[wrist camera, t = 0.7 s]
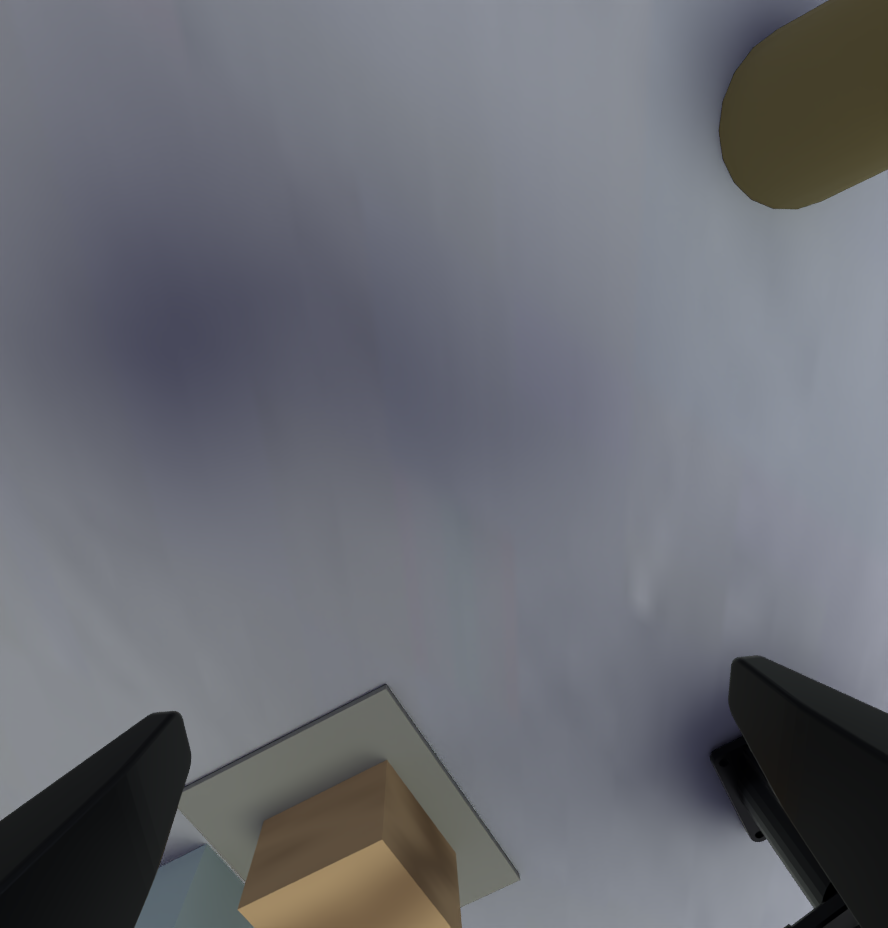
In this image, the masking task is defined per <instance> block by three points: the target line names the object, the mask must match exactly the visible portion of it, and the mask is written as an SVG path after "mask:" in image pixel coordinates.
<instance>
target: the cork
mask: <svg viewBox="0 0 888 928" xmlns="http://www.w3.org/2000/svg"><path fill="white" fill-rule="evenodd" d="M719 135H720V142H721V149H722V156H723V160H724V162H725V164H726V167H727V169H728V171H729V173H730V175H731V177H732V179H733V181H734V183H735V184H736V185H737V186H738V187H739V188H740V189H741V190H742V191H743V192H744V193H745V194H746V195H747V196H748V197H750V198H751V199H752V200H754V201H756V202H759V203H761V204H763V205H766V206H768V207H771V208H773V209H799V208H802V207H806V206H809V205H812V204H815V203H818V202H821V201H823V200H825V199H827V198H829V197H831V196H834V195H836V194H838V193H840V192H842V191H844V190H846V189H848V188H850V187H852V186H854V185H856V184H858V183H860V182H863V181H865V180H867V179H869V178H871V177H873V176H875V175H877V174H879V173H881V172H883V171H885V170H887V169H888V0H829V1H827V2H825V3H823V4H821V5H820V6H818V7H816V8H814V9H813V10H811V11H809V12H807V13H806V14H804V15H802V16H800V17H798V18H797V19H795V20H793V21H791V22H790V23H788V24H786V25H784V26H783V27H781V28H779V29H777V30H776V31H775V32H773V33H772V34H771V35H769V36H768V37H767V38H765V39H764V40H763V41H761V42H760V43H759V44H757V45H756V46H755V47H753V49H752V50H751V51H750V53H749V54H748V55H747V57H746V58H745V59H744V61H743V62H742V63H741V65H740V66H739V67H738V69H737V70H736V71H735V73H734V75H733V78H732V80H731V83H730V85H729V87H728V90H727V92H726V95H725V97H724V100H723V104H722V112H721V119H720V127H719Z"/></svg>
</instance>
